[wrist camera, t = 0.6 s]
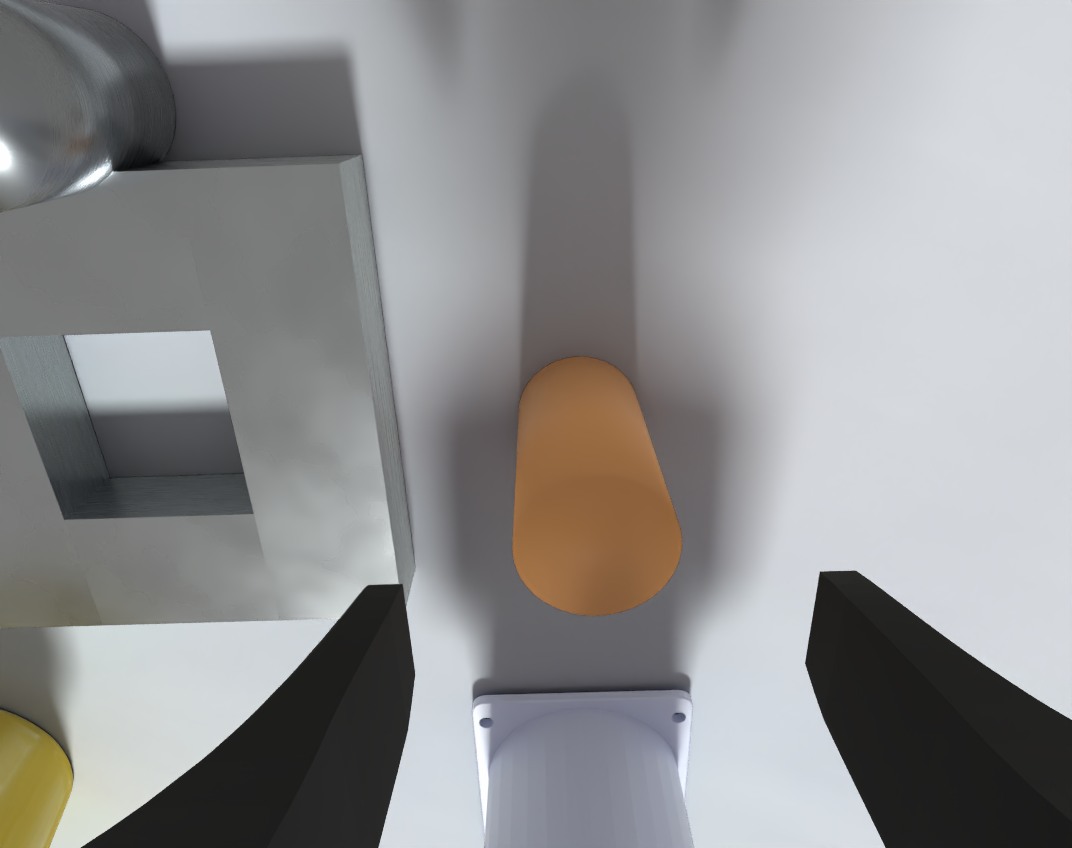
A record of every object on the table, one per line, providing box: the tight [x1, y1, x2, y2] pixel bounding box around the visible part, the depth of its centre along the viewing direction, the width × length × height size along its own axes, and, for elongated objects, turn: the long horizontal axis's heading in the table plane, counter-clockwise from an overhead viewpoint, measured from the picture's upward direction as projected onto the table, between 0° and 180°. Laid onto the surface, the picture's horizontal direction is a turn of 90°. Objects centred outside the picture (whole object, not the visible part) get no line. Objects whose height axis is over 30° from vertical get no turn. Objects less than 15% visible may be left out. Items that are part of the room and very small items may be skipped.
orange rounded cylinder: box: [513, 357, 682, 616], centre depth 18 cm, size 4×4×7 cm
